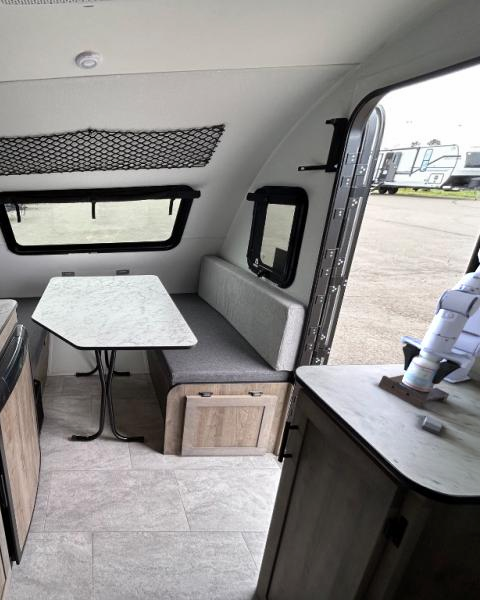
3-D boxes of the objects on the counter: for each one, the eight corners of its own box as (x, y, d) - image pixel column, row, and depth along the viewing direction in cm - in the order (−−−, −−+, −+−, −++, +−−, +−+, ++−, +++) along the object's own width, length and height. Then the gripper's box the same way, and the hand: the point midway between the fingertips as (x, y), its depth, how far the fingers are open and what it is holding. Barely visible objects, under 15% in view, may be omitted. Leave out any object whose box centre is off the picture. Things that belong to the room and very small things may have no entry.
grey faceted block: (423, 417, 84) (427, 411, 84) (439, 424, 82) (443, 417, 81) (421, 428, 81) (424, 421, 80) (438, 435, 79) (442, 428, 78)
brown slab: (403, 380, 100) (408, 370, 99) (445, 401, 92) (451, 390, 90) (377, 386, 97) (382, 375, 96) (418, 408, 88) (424, 397, 87)
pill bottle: (417, 380, 96) (434, 347, 92) (436, 393, 90) (455, 359, 86) (395, 378, 97) (412, 346, 92) (413, 391, 91) (431, 357, 87)
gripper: (401, 323, 92) (382, 364, 97) (470, 348, 80) (445, 394, 85) (417, 321, 95) (398, 361, 100) (487, 345, 82) (461, 390, 87)
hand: (420, 376), depth 92 cm, fingers closed on pill bottle, 6 cm apart
